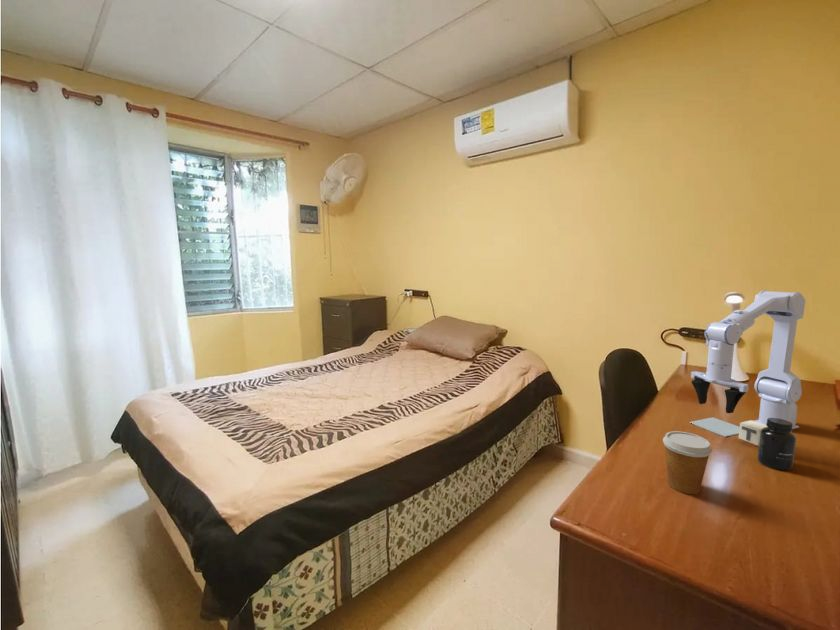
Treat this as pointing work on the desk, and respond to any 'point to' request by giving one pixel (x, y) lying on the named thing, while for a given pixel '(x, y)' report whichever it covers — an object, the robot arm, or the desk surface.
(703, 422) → the slate mat
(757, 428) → the letter block
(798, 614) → the desk surface
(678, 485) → the disposable coffee cup
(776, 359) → the robot arm
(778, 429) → the supplement bottle
